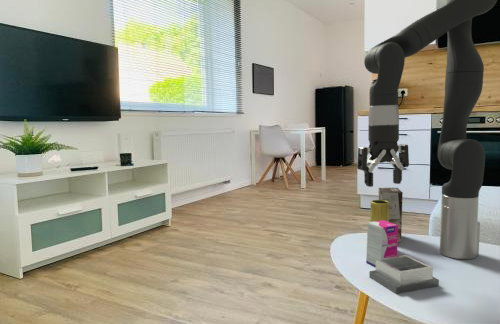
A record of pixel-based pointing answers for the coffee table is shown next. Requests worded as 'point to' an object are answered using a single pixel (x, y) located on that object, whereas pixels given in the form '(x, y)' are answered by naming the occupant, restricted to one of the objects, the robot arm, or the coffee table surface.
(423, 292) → the coffee table surface
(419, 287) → the square tray
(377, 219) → the vase
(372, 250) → the supplement box
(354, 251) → the coffee table surface
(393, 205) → the coffee box
